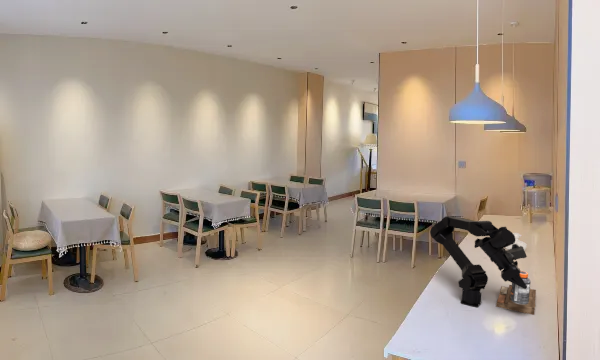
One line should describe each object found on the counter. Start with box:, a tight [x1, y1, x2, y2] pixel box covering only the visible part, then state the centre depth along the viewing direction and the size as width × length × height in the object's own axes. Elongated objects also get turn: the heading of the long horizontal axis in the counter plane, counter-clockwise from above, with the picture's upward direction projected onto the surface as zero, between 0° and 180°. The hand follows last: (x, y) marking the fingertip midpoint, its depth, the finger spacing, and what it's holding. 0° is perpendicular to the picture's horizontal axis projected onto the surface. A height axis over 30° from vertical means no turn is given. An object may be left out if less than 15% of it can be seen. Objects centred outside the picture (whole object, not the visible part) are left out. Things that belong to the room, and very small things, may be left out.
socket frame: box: [495, 284, 537, 316], centre depth 162 cm, size 13×22×2 cm, turn 149°
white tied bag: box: [504, 232, 528, 252], centre depth 236 cm, size 12×8×11 cm
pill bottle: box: [511, 270, 531, 305], centre depth 147 cm, size 6×6×11 cm
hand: (525, 285), depth 146 cm, fingers closed on pill bottle, 6 cm apart
